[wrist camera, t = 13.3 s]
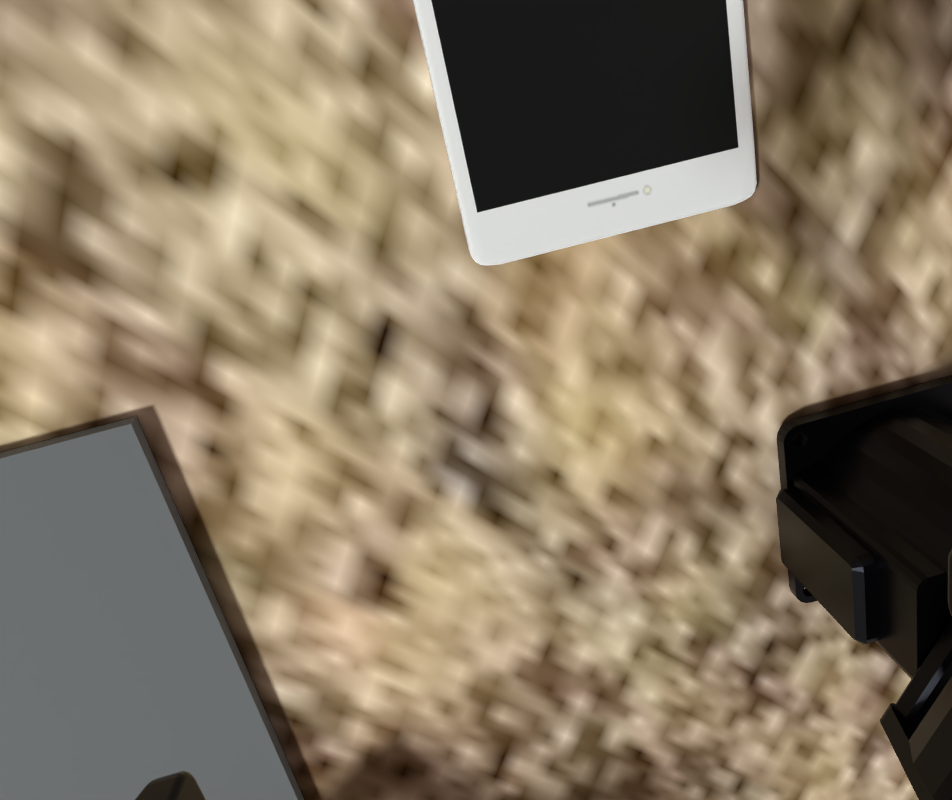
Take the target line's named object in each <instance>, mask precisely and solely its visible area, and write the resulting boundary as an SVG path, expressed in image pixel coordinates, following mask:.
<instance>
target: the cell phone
mask: <svg viewBox="0 0 952 800" xmlns="http://www.w3.org/2000/svg"><path fill="white" fill-rule="evenodd" d="M413 4H414V8H415V13H416V17H417V21H418V26H419V30H420V35H421V39H422V44H423V48H424V53H425V57H426V61H427V66H428V70H429V75H430V79H431V84H432V88H433V93H434V97H435V102H436V106H437V110H438V115H439V119H440V124H441V128H442V133H443V137H444V142H445V146H446V150H447V155H448V159H449V164H450V168H451V173H452V177H453V182H454V186H455V191H456V195H457V199H458V204H459V208H460V213H461V217H462V222H463V226H464V231H465V235H466V240H467V244H468V248H469V252H470V254H471V256H472V258H473V259H474V261H475V262H477V263H478V264H480V265H499V264H504V263H508V262H512V261H516V260H520V259H524V258H527V257H531V256H535V255H539V254H543V253H547V252H551V251H555V250H559V249H563V248H567V247H571V246H575V245H579V244H583V243H586V242H590V241H594V240H598V239H602V238H606V237H610V236H614V235H618V234H622V233H626V232H630V231H634V230H638V229H642V228H646V227H649V226H653V225H657V224H661V223H665V222H669V221H673V220H677V219H681V218H685V217H689V216H693V215H697V214H701V213H705V212H708V211H712V210H716V209H720V208H724V207H728V206H732V205H735V204H737V203H740V202H742V201H744V200H746V199H748V198H749V197H751V196H752V194H753V193H754V191H755V188H756V185H757V180H756V164H755V148H754V135H753V122H752V109H751V96H750V83H749V70H748V57H747V44H746V31H745V19H744V6H743V0H413Z"/></svg>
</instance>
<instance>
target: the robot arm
mask: <svg viewBox="0 0 952 800" xmlns="http://www.w3.org/2000/svg"><path fill="white" fill-rule="evenodd" d="M799 432H801V433H800V437H799V438H798V440H796V441H794V442H792V438H793V436H794V435H795V434H797V433H799ZM777 447H778V459H779V470H780V482H781V490H780V491H779V493H778V495H777V498H776V503H777V514H778V525H779V537H780V548H781V559H782V562H783V564H784V565H785V566H786V567H787V568H788V576H789V587H790V590H791V592H792V593H793V594H794V595H795V596H796V597H797V599H799V600H800V601H801V602H804V603H809V602H814V601H817V600H818V601H819V603H820V604H821V605H822V606H823V607H824V608H825V609H826V610H827V611H828V612H829V613H830V614H831V615H832V616H833V618H834V619H835V620H836V621H837V622H838V623H839V624H840V625H841V626H842V627H843V628H844V629H845V630H846V631H847V633H848V634H849V635H850V636H851V637H852V638H853V639H855V640H856V641H858V642H860V643H862V644H863V645H864V644H868V643H871V642H876V643H877V644H878V645H879V646H880V647H881V648H882V649H883V650H884V651H885V652H886V653H887V654H888V655H889V656H890V657H891V658H892V659H893V660H894V661H895V662H896V663H897V664H898V665H899V666H900V667H901V668H902V670H903V671H904V672H905V673H906V674H907V675H908V676H909V677H910V678H911V681H910V683H909V684H908V686H907V687H906V689H905V690H904V692H903V693H902V695H901V696H900V698H899V699H898V701H897V703H896V704H894V703H891V704H890V705H889V707H888V708H887V710H886V711H885V713H884V715H883V716H882V718H881V719H880V722H881V724H882V726H883V728H884V730H885V732H886V734H887V736H888V738H889V740H890V742H891V744H892V746H893V749H894V751H895V753H896V755H897V757H898V759H899V761H900V763H901V765H902V767H903V769H904V771H905V773H906V775H907V777H908V779H909V781H910V783H911V785H912V787H913V789H914V791H915V793H916V795H917V797H918V799H919V800H952V375H951V376H947V377H944V378H940V379H936V380H933V381H929V382H926V383H922V384H918V385H915V386H911V387H908V388H904V389H900V390H897V391H893V392H890V393H886V394H883V395H879V396H875V397H872V398H868V399H865V400H861V401H857V402H854V403H850V404H847V405H843V406H839V407H836V408H832V409H829V410H825V411H821V412H818V413H814V414H811V415H807V416H803V417H800V418H796V419H793V420H790V421H788V422H786V423H785V424H783V425H782V426H781V427H780V429H779V431H778V433H777ZM804 587H805V589H804ZM135 800H206V799H205V797H204V795H203V793H202V791H201V789H200V787H199V785H198V783H197V781H196V779H195V778H194V777H193V775H192V774H191V773H189V772H187V771H181V772H177V773H174V774H170V775H167V776H164V777H160V778H157V779H155V780H152V781H151V782H149V783H148V784H147V785H146V786H145V788H144V789H143V790H142V791H141V792H140V794H139V795H138V796H137V797H136V799H135Z"/></svg>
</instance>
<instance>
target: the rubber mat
mask: <svg viewBox="0 0 952 800" xmlns="http://www.w3.org/2000/svg"><path fill="white" fill-rule="evenodd" d="M181 771H187V772H189V773H191V774H192V775H193V777H194V778H195V779H196V781H197V783H198V785H199V787H200V789H201V791H202V793H203V795H204V797H205V799H206V800H304V798H303V795H302V793H301V791H300V789H299V786H298V784H297V782H296V779H295V777H294V775H293V773H292V770H291V768H290V766H289V764H288V761H287V759H286V757H285V754H284V752H283V750H282V748H281V745H280V743H279V741H278V738H277V736H276V734H275V732H274V729H273V727H272V725H271V723H270V720H269V718H268V716H267V713H266V711H265V709H264V707H263V704H262V702H261V700H260V697H259V695H258V693H257V691H256V688H255V686H254V684H253V682H252V679H251V677H250V675H249V672H248V670H247V668H246V666H245V663H244V661H243V659H242V656H241V654H240V652H239V650H238V647H237V645H236V643H235V641H234V638H233V636H232V634H231V631H230V629H229V627H228V625H227V622H226V620H225V618H224V615H223V613H222V611H221V609H220V606H219V604H218V602H217V599H216V597H215V595H214V593H213V590H212V588H211V586H210V584H209V581H208V579H207V577H206V574H205V572H204V570H203V568H202V565H201V563H200V561H199V558H198V556H197V554H196V552H195V549H194V547H193V545H192V543H191V540H190V538H189V536H188V533H187V531H186V529H185V527H184V524H183V522H182V520H181V517H180V515H179V513H178V511H177V508H176V506H175V504H174V502H173V499H172V497H171V495H170V492H169V490H168V488H167V486H166V483H165V481H164V479H163V476H162V474H161V472H160V470H159V467H158V465H157V463H156V461H155V458H154V456H153V454H152V451H151V449H150V447H149V445H148V442H147V440H146V438H145V435H144V433H143V431H142V429H141V426H140V424H139V422H138V420H137V417H132V418H128V419H125V420H121V421H117V422H113V423H110V424H106V425H102V426H98V427H95V428H91V429H87V430H83V431H80V432H76V433H72V434H68V435H64V436H61V437H57V438H53V439H49V440H46V441H42V442H38V443H34V444H31V445H27V446H23V447H19V448H16V449H12V450H8V451H4V452H0V800H135V799H136V797H137V796H138V795H139V794H140V792H141V791H142V790H143V789H144V788H145V786H146V785H147V784H148V783H149V782H151V781H152V780H155V779H157V778H160V777H164V776H167V775H170V774H174V773H177V772H181Z"/></svg>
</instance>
